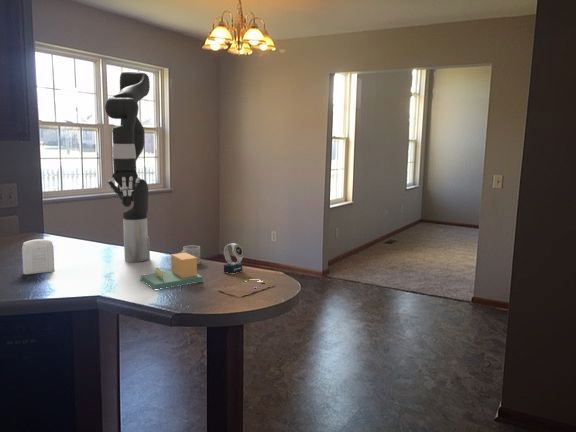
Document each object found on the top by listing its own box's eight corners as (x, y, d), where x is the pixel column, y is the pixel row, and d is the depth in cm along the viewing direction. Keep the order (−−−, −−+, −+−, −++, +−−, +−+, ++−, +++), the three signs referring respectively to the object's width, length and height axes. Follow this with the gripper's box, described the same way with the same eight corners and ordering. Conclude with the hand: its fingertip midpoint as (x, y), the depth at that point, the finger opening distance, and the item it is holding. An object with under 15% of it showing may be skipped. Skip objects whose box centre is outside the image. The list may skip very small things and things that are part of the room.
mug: (192, 260, 197) (192, 244, 196) (203, 263, 193) (203, 246, 192) (173, 265, 189) (173, 248, 188) (185, 268, 185) (184, 251, 184)
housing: (186, 269, 175) (185, 252, 174) (197, 275, 168) (196, 257, 167) (171, 272, 172) (171, 254, 171) (182, 278, 164) (181, 259, 163)
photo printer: (53, 269, 180) (52, 237, 178) (55, 271, 177) (53, 239, 175) (22, 272, 175) (20, 239, 173) (24, 275, 171) (21, 241, 169)
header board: (186, 273, 178) (186, 260, 177) (202, 282, 167) (202, 268, 166) (141, 280, 168) (141, 266, 167) (155, 290, 157) (155, 275, 156)
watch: (236, 275, 176) (236, 246, 174) (220, 271, 181) (220, 243, 179) (246, 272, 181) (246, 243, 179) (230, 268, 185) (230, 241, 183)
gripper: (139, 156, 172) (141, 203, 175) (101, 156, 164) (104, 206, 167) (147, 157, 166) (148, 206, 169) (108, 158, 158) (111, 209, 161)
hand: (126, 206), depth 168 cm, fingers closed
